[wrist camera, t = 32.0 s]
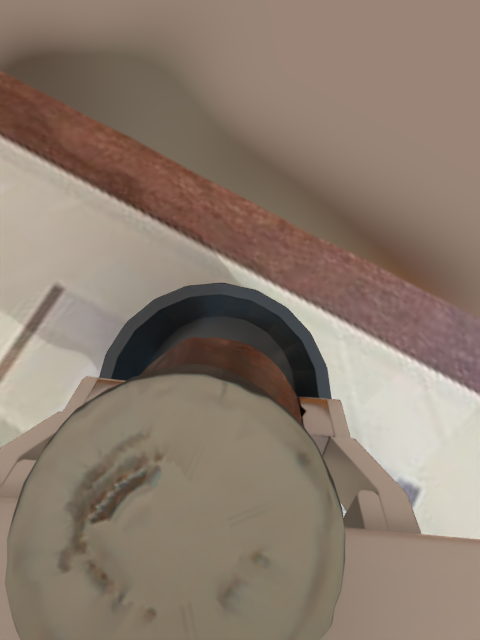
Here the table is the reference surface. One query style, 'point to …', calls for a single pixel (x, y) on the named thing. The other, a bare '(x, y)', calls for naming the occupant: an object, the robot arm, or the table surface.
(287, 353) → the round dark pot
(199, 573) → the sauce bottle
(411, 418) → the table surface
